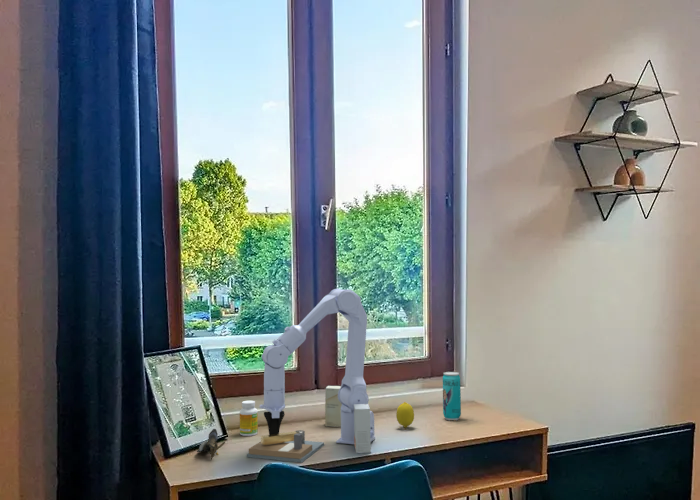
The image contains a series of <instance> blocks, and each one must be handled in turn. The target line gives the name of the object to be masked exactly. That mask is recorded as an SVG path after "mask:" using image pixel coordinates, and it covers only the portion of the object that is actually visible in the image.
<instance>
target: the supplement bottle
mask: <svg viewBox="0 0 700 500" xmlns="http://www.w3.org/2000/svg"><path fill="white" fill-rule="evenodd" d="M241 407H242V408H241V409H240V410H239V434H240V435H241V436H243V437H250V436H251V437H252V436H255V435H258V428H259V427H258V423H259V422H258V421H259V419H258V413H259V411H258V409H257V408H256V401H255V400H244V401H242V402H241Z"/></svg>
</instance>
